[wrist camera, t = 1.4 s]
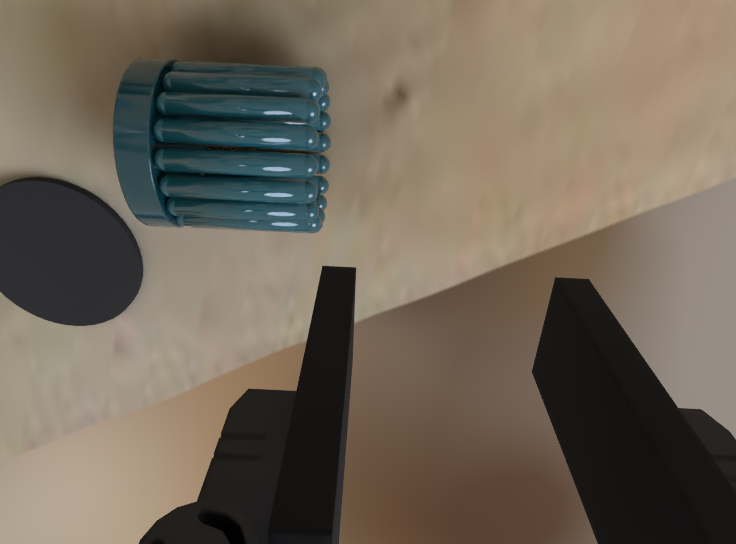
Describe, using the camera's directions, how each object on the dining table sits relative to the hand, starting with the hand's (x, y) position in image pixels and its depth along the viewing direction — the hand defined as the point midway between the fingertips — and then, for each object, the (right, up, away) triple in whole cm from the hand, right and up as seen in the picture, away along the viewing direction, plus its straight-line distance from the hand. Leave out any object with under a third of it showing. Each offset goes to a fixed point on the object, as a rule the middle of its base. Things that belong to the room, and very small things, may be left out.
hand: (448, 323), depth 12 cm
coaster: (-22, +2, +23) cm, 32 cm away
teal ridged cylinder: (-9, +10, +18) cm, 22 cm away
